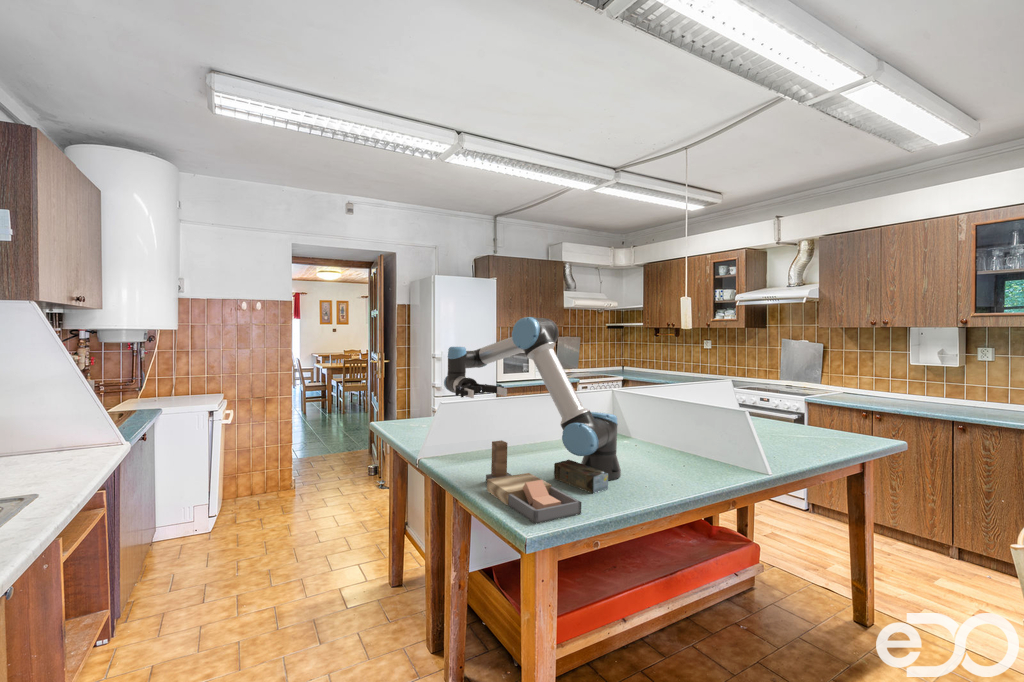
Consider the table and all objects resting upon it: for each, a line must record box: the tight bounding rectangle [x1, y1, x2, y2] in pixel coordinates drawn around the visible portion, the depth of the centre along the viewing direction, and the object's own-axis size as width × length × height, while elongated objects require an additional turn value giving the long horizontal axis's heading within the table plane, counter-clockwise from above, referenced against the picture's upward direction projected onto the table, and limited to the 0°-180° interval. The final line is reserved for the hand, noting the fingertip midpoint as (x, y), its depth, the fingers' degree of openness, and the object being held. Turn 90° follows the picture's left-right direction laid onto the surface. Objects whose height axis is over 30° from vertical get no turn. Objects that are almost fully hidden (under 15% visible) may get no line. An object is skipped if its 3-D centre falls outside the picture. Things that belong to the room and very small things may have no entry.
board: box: [486, 472, 553, 506], centre depth 154 cm, size 14×16×4 cm
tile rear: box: [523, 479, 549, 505], centre depth 146 cm, size 6×6×3 cm
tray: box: [507, 486, 582, 525], centre depth 141 cm, size 15×16×4 cm
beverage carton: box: [553, 459, 609, 494], centre depth 166 cm, size 8×19×7 cm, turn 39°
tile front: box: [533, 495, 561, 510], centre depth 140 cm, size 6×6×3 cm
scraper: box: [485, 439, 513, 482], centre depth 166 cm, size 4×8×14 cm, turn 120°
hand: (489, 393), depth 173 cm, fingers open, 13 cm apart
